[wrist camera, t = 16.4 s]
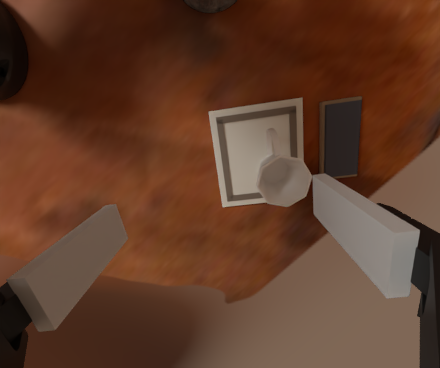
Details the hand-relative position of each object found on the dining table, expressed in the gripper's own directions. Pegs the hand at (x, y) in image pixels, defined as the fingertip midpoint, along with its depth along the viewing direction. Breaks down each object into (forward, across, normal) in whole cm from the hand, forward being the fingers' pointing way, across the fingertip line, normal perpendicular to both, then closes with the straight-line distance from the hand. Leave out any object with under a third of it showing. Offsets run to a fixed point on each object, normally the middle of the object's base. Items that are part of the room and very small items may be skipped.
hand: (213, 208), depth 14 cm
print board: (+21, +6, -2) cm, 22 cm away
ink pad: (+21, +18, -1) cm, 28 cm away
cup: (+20, +8, -2) cm, 22 cm away
